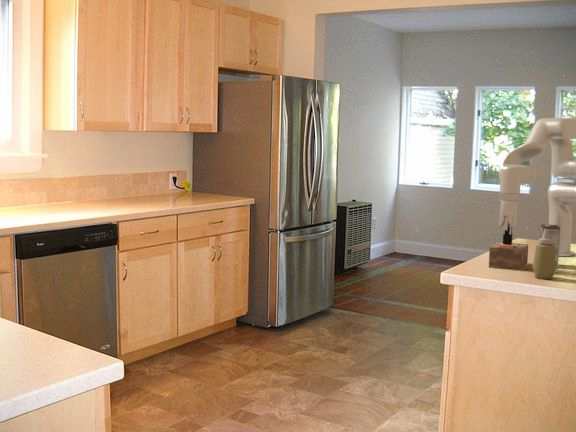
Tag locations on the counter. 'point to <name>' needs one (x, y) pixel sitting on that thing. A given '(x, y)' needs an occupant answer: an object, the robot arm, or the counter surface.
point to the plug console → (508, 257)
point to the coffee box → (553, 237)
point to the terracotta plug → (507, 246)
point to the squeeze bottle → (544, 257)
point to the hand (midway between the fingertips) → (507, 244)
